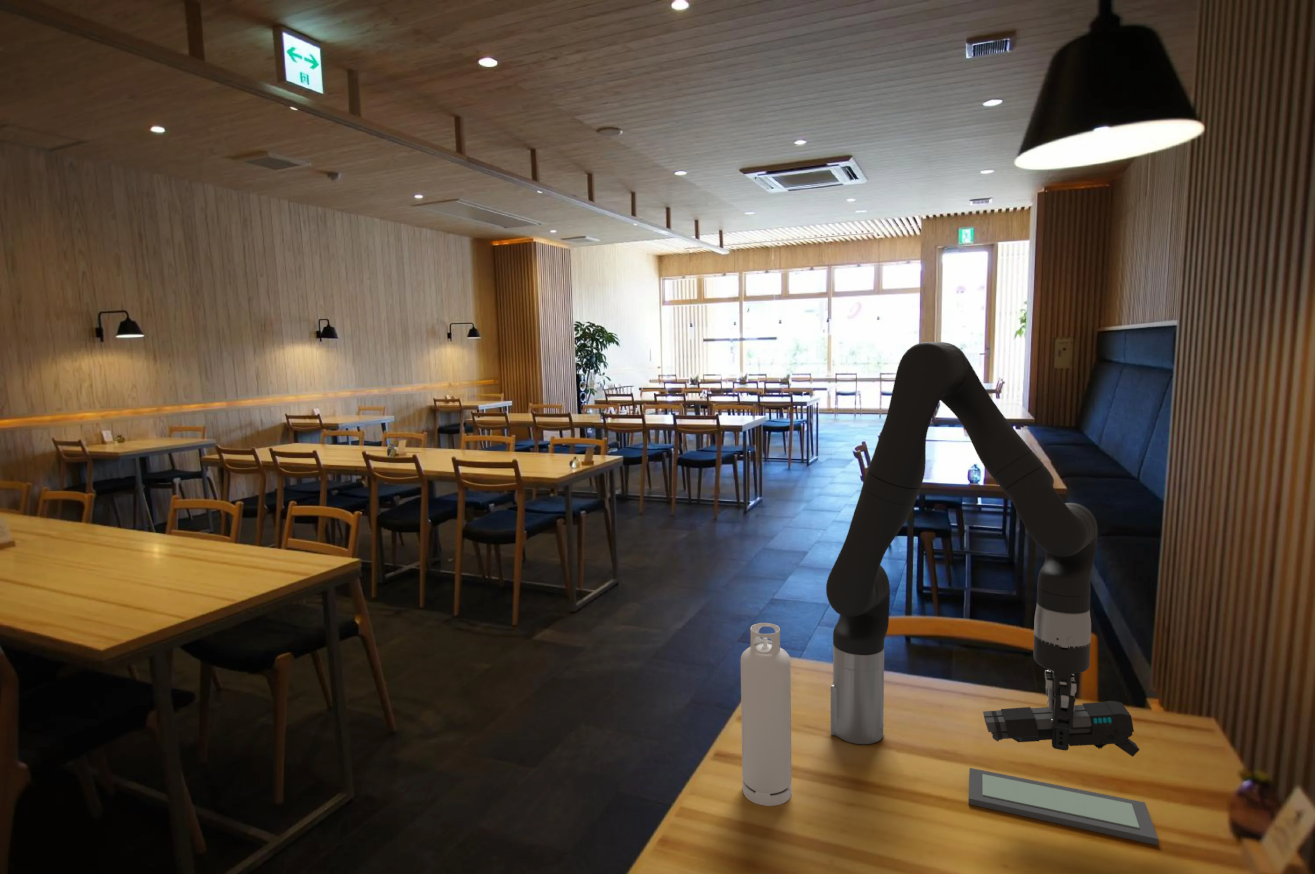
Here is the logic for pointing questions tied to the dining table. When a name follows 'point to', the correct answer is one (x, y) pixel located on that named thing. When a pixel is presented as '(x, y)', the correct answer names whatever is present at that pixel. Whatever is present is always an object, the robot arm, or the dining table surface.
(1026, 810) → the charging mat
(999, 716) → the gun
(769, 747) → the bottle
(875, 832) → the dining table surface
